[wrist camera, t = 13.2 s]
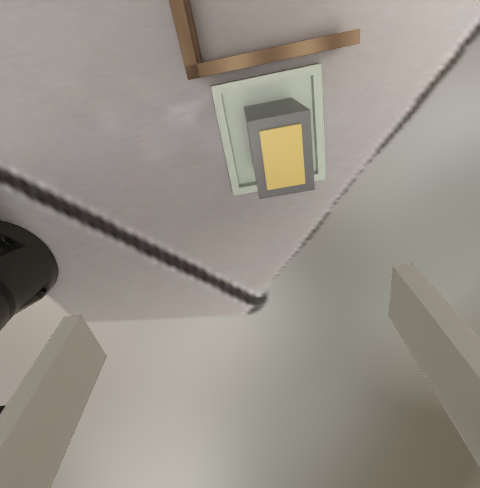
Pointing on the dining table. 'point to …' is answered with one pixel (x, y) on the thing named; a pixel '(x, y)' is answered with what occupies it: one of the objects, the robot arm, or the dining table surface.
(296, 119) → the grey box yellow panel
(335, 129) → the dining table surface
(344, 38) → the bay
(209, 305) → the dining table surface
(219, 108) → the tray
